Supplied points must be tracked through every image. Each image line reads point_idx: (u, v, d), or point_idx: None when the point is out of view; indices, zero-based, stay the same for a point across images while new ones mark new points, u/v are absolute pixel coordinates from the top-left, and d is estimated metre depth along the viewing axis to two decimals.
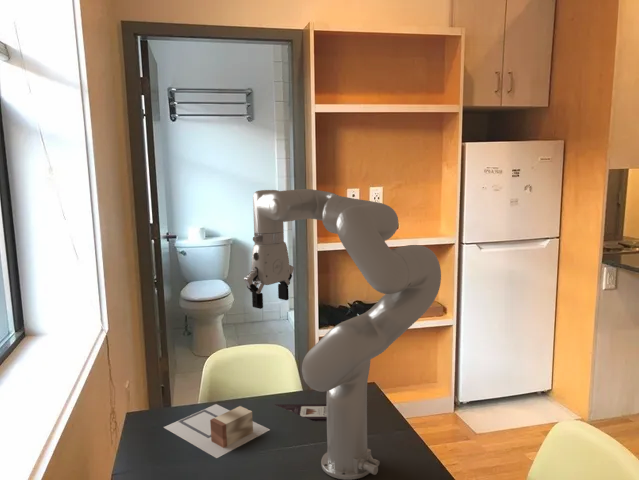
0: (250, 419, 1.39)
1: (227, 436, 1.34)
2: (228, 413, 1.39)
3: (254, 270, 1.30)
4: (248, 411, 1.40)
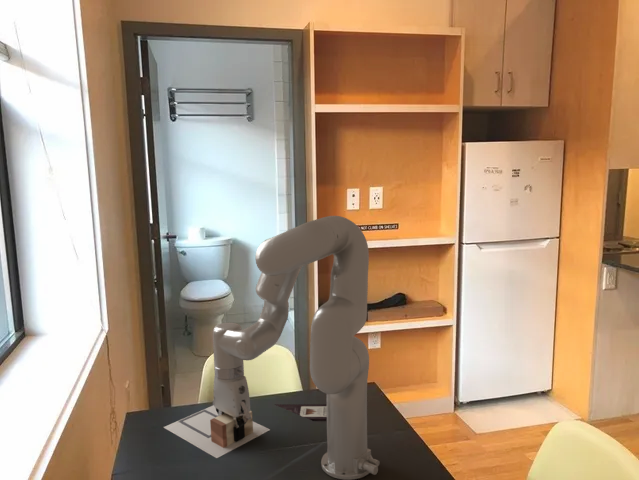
0: (250, 419, 1.39)
1: (227, 436, 1.34)
2: None
3: (244, 405, 1.33)
4: None
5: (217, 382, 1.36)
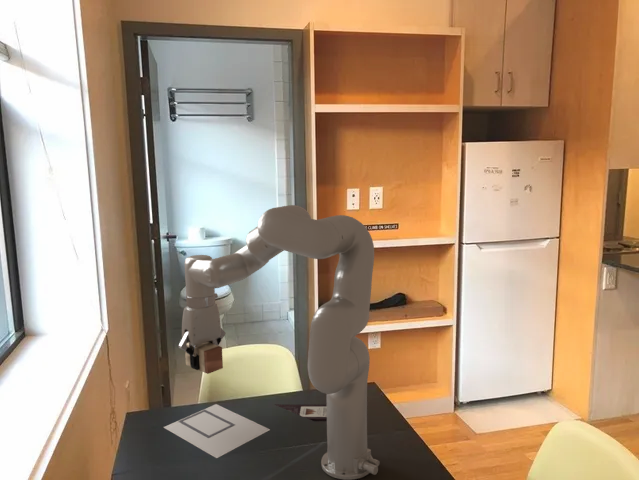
0: None
1: None
2: None
3: None
4: None
5: (200, 315, 1.38)
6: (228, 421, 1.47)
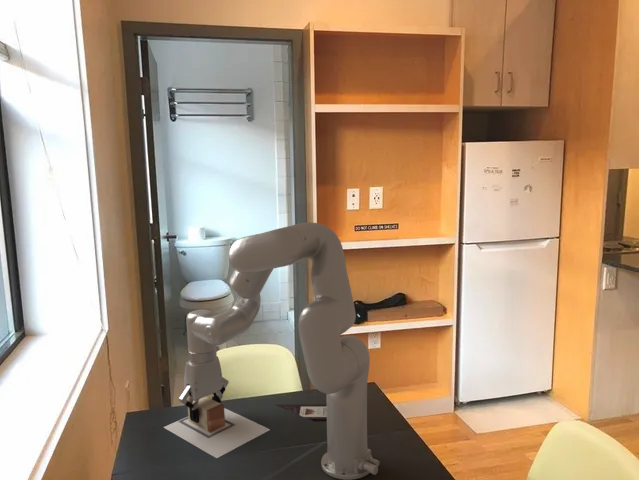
0: None
1: None
2: (200, 404, 1.44)
3: None
4: None
5: (202, 370, 1.40)
6: (228, 421, 1.47)
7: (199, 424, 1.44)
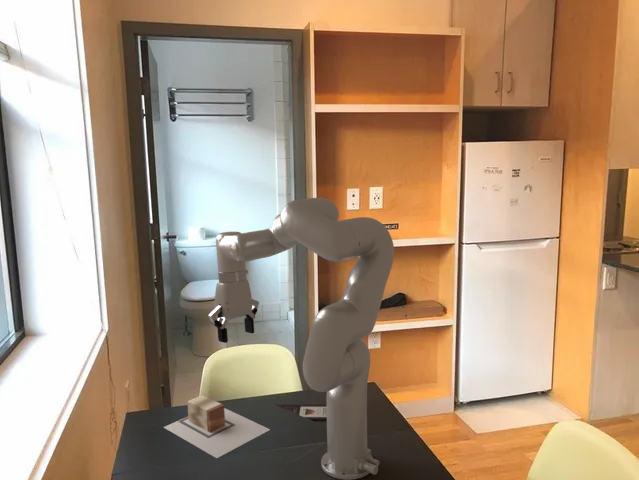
0: None
1: None
2: (200, 404, 1.44)
3: None
4: (201, 396, 1.49)
5: (233, 289, 1.41)
6: (228, 421, 1.47)
7: (199, 424, 1.44)
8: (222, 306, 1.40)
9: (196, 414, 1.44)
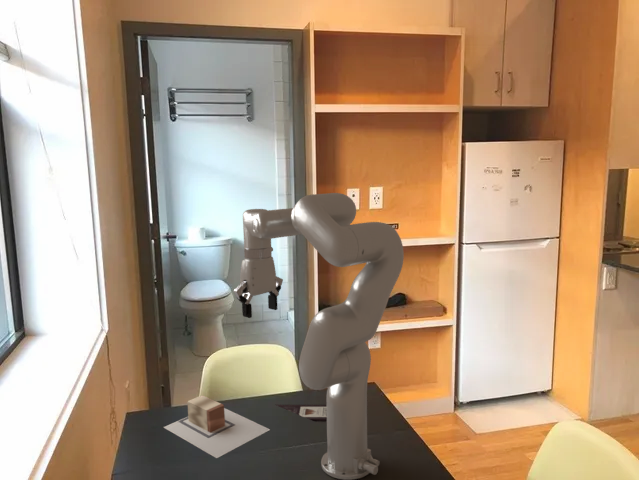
0: None
1: None
2: (200, 404, 1.44)
3: None
4: (201, 396, 1.49)
5: (258, 266, 1.43)
6: (228, 421, 1.47)
7: (199, 424, 1.44)
8: (247, 282, 1.42)
9: (196, 414, 1.44)
